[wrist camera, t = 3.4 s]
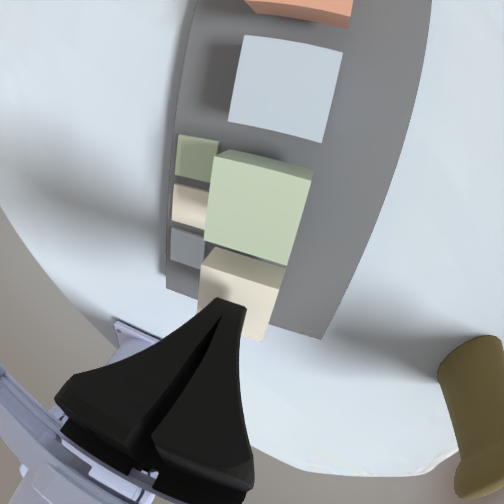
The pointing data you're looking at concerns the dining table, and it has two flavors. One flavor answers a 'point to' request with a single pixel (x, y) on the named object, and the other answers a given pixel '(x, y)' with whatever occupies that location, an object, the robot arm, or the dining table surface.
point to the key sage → (256, 204)
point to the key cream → (241, 287)
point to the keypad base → (298, 144)
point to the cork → (476, 413)
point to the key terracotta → (307, 10)
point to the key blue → (284, 86)
